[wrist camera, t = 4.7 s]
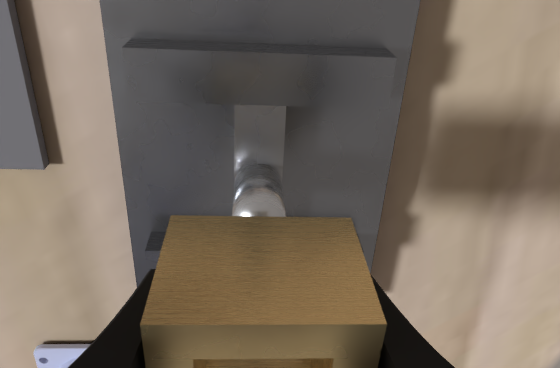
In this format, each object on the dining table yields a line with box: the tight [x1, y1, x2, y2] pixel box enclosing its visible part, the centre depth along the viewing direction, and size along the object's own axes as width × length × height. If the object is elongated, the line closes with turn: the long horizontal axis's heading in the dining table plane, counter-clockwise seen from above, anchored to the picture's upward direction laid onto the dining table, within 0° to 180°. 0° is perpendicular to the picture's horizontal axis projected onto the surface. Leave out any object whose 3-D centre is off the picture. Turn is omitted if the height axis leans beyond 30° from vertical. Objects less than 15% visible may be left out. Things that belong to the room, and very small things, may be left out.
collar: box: [140, 215, 387, 368], centre depth 12 cm, size 5×5×4 cm
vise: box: [100, 0, 420, 287], centre depth 19 cm, size 20×12×6 cm, turn 177°
